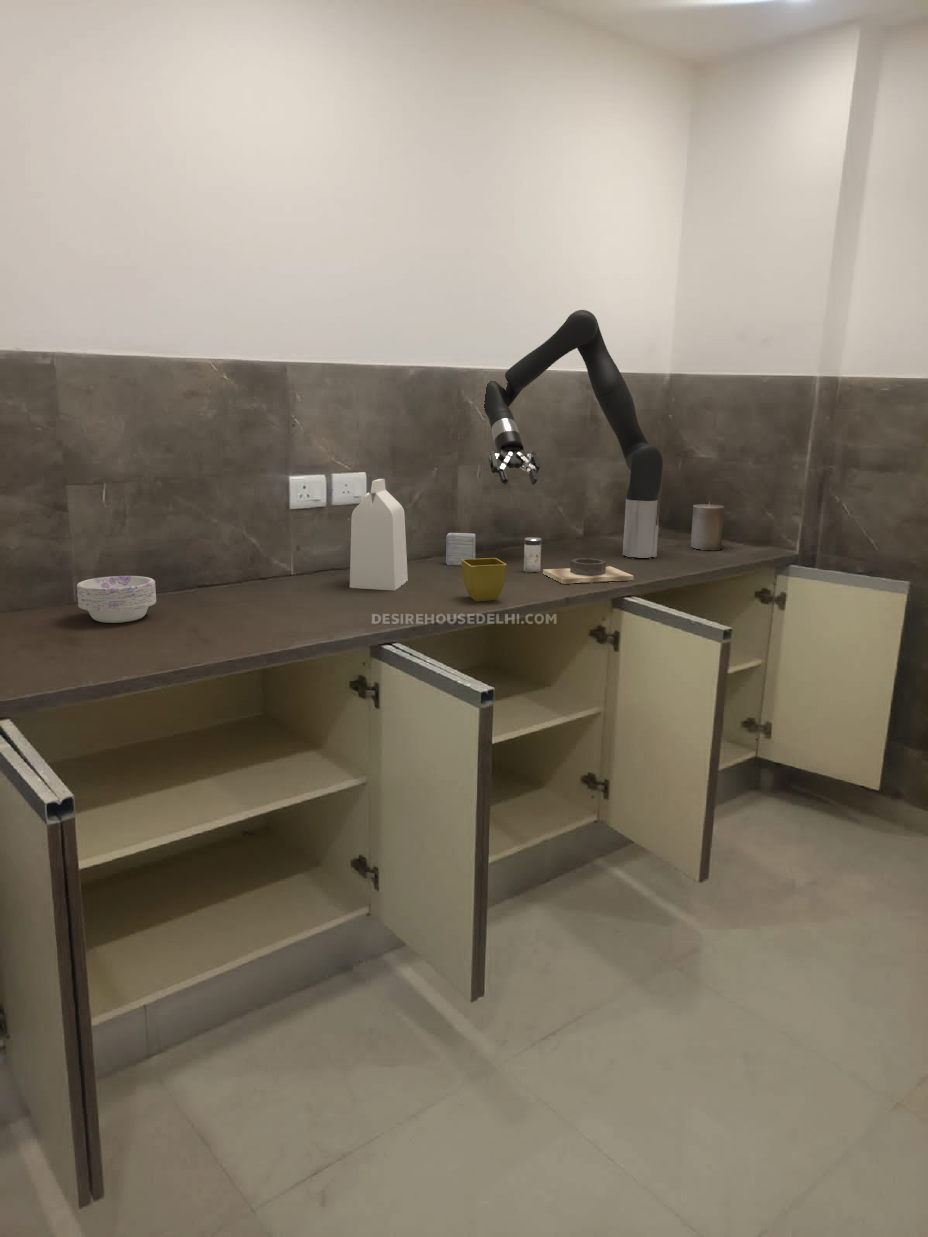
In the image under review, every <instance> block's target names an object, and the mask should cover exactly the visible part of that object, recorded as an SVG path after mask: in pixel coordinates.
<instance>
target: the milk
mask: <svg viewBox="0 0 928 1237" xmlns="http://www.w3.org/2000/svg"><path fill="white" fill-rule="evenodd" d="M360 501H361V502H359V504H358V505H357V506H356V507H354V509H353V511H352V513H351V517H350V518H351V522H350V523H351V524H350V527H351V528H350V529H351V530H350V559H349V560H350V561H349V562H350V564H349V589H350V588H351V589H363V590H366V589H367V590H379V591H380V590H382V591H396V590H397V589H399V588H400V587H402V586H403V585H404V584H406V583H407V582H408V581H409V579H408V577H409V576H408V560H407V556H408V554H407V541H406V540H407V539H406V536H407V534H406V518H405V516H406V514H405V509H404V507H403V506H402V504H401V503H400V502H399V501H398V500H397V499H396V498H395V497H394V496H393V495H392V494H391V493H390V492H389V491H388V490H387V488H386V479H385V478H378V479H374V480H372V481H371V487H370V492H367V493H366V494H364V495H363V496H362V497H361V499H360ZM406 581H407V582H406ZM401 585H402V586H401Z"/></svg>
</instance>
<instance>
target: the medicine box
mask: <svg viewBox="0 0 928 1237" xmlns="http://www.w3.org/2000/svg"><path fill="white" fill-rule="evenodd" d="M476 537H477V536H476V533H472V532H471V533H469V532H467V533H466V532H464V533H463V532H449V533H447V535H446V537H445V538H446V547H445V548H446V552H445V554H446V558H445V559H446V561H445V563H446V564H447V565H446V564H445V565H446V566H462V564H461V560H462V559H476Z"/></svg>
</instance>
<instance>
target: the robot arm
mask: <svg viewBox="0 0 928 1237" xmlns="http://www.w3.org/2000/svg"><path fill="white" fill-rule="evenodd" d="M576 349H577V350H578V353H579V354H580V356H581V358H582V360H583V362H584V364H585V367H586V370H587V375H588V379H589V381H590V385H591V388H592V392H593V393H594V397H595V398H596V400H597V403H598V404H599V407H600V409H601V411H602V412H603V414H604V416H605V418H606V421H607V422H608V424H609V425H610V428H611V429H612V430H613V432H614V434H615V436H616V438H617V441H618V443H619V446H620V448H621V452H622V454H623V458H624V461H625V463H626V466H627V468H628V470H630V474H629V476H630V478H629V484H628V488H627V490H626V496H625V510H624V526H623V527H624V528H623V529H624V530H623V531H624V532H623V542H622V543H623V544H622V556H623V555H625V556H627V557H638V558H648V557H654V558H657V554H658V540H659V528H660V527H659V525H657V515H658V514H657V513H658V503H659V502H658V500H659V493H660V491H661V487H662V486H661V485H662V476H663V467H664V466H663V462H664V461H663V456H662V455H663V454H662V453H661V451H660V449H659V448H658V447H655V446H654V445H651V444H650V443H649V441H648V440H647V438H646V437H645V434H644V433H643V431H642V429H641V427H640V426H641V425H639V421H638V416H637V411H636V407H635V403H634V400H633V396H632V393H631V392H630V390H629V387H628V386H627V385H628V384H627V383H626V381H625V379H624V377H623V375H622V373H621V372H620V369H619V367H618V366H617V364H616V363H615V361H614V359H613V358H612V356H611V355H610V352H609V350H608V348H607V346H606V344H605V340H604V337H603V334H602V332H601V328H600V325H599V322H598V319H597V318H596V316H595V315H594V313H592V312H591V311H589V310H586V309H578V310H575V311H574V312H572V313H571V314H569V316H568V317H567V318H566V319H565V322H563V324H561V326H560V327H559V328H558V330H557V331H555V332H554V333H553V334H552V335H551V336H550V337H549V338H548V339H547V340H545V341H544V342H543V343H542V344H541V345H538V347H537V348H535V349H533V350H531V352H529V353H527V354H526V355H525V356H523V357H522V358H521V359H520V360H518V361H517V362H516V363H514V364H513V365H512V366H511V367H510V368H509V369H507V370H506V371H505V374H504V376H505V377H504V378H505V380H506V384H507V387H506V390H505V389H504V388H503V387H504V386H502V385H501V384H500V383H498V382H497V381H496V380H494V381H490V382H489V383H488V384H487V387H486V394H485V401H484V402H485V404H484V408H485V409H483V411H484V410H485V411H484V413H485V415H486V417H487V418H488V420H489V421H488V422H489V425H490V428H491V433H492V439H493V442H494V445H495V449H496V452H497V453H496V452H495V451H494V450H491V451H490V453H489V455H488V462H489V466H490V472H491V473H492V474H495V473H497V474H498V475H499V476H498V477H499V479H500V482H501V484H503V485H505V486H506V485H507V484H508V483H509V478H508V474H507V471H506V468H509V469H513V468H515V469H521V470H522V471H524V472H526V473H528V477H529V480H530V484H531V485H533V486H534V485H536V483H537V482H538V479H539V478H538V475H537V474H538V473H539V471H540V469H541V468H542V466H541V463H540V461H539V458H538V456H537V453H536V452H535V451H531V453H527V452H526V451H525V449H524V443H523V442H522V441H523V440H522V437H521V434H520V432H519V431H520V430H519V428H518V426H517V425H516V421H515V418H514V415H513V413H512V410H511V408H510V406H511V405H512V404H513V402H514V401H515V400H516V399H517V397H518V396H519V395H520V393H521V392H522V390H524V389H525V388H526V387H528V386H529V385H530V384H531V383H532V382H534V381H535V380H537V379H538V378H539V377H540V376H541V375H542V374H543V373H545V372H546V371H547V370H548V369H549V368H550V367H551V366H552V365H553V364H555V363H557V361H558V360H560V359H561V358H563V357H564V356H566V355H567V354H569V353H570V352H572V351H574V350H576ZM507 382H508V383H507ZM497 460H499V461H500V462H501V464H500V466H499V464H498V461H497ZM627 557H626V558H627Z"/></svg>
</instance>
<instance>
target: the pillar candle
mask: <svg viewBox="0 0 928 1237" xmlns="http://www.w3.org/2000/svg"><path fill="white" fill-rule="evenodd" d="M724 517H725V506H724V505H722V504H721V505H720V504H711V501H709V502H708V503H707V504H705V503H704V504H703V503H701V504H699V503H698V504H693V506H692V520H691V534H690V548H691V547H693V548H696V549H701V550H700V551H703V550H711V552H713V551H721V550H722V544H723V543H722V542H723V533H724V531H723V530H724V529H723V528H724V519H725V518H724ZM693 548H692V549H693ZM696 549H695V550H696ZM720 549H721V550H720Z"/></svg>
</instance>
